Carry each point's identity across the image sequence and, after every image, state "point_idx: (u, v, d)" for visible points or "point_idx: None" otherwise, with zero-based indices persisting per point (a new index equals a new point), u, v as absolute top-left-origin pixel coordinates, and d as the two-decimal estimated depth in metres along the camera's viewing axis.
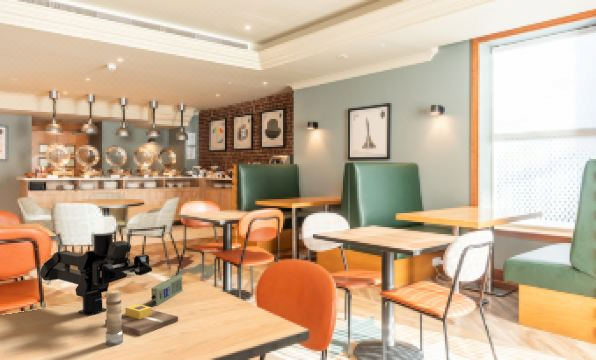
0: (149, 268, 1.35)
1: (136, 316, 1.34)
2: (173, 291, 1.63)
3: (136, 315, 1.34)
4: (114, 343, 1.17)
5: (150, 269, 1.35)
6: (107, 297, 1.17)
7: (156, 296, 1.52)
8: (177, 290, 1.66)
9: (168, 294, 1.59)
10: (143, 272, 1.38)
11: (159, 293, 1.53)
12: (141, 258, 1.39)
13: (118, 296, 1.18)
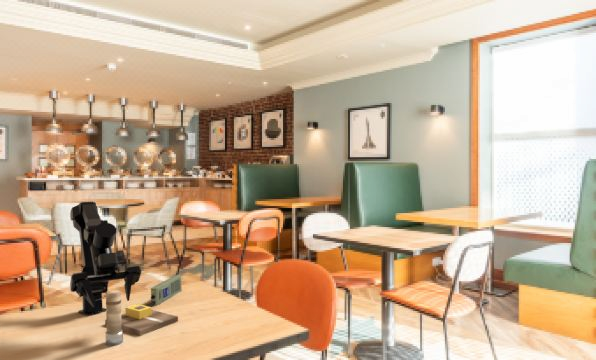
0: (127, 297, 1.24)
1: (136, 316, 1.34)
2: (172, 291, 1.63)
3: (136, 315, 1.34)
4: (114, 343, 1.17)
5: (127, 299, 1.24)
6: (107, 297, 1.17)
7: (156, 296, 1.52)
8: (176, 290, 1.66)
9: (167, 294, 1.59)
10: (125, 290, 1.28)
11: (158, 293, 1.53)
12: (129, 276, 1.27)
13: (118, 296, 1.18)
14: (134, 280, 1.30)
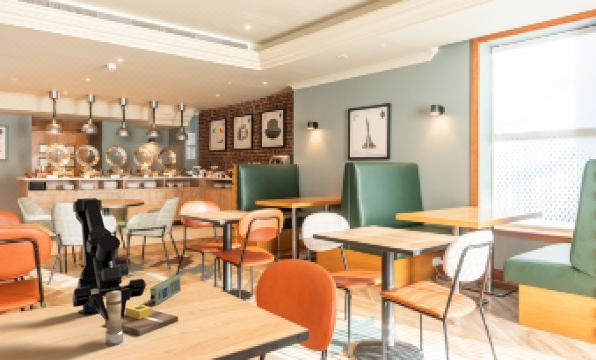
0: (121, 314, 1.19)
1: (136, 316, 1.34)
2: (172, 291, 1.63)
3: (136, 315, 1.34)
4: (114, 343, 1.17)
5: (122, 316, 1.19)
6: (107, 297, 1.17)
7: (155, 296, 1.52)
8: (175, 290, 1.66)
9: (167, 294, 1.59)
10: None
11: (158, 293, 1.53)
12: (124, 291, 1.22)
13: (118, 296, 1.18)
14: (129, 295, 1.25)
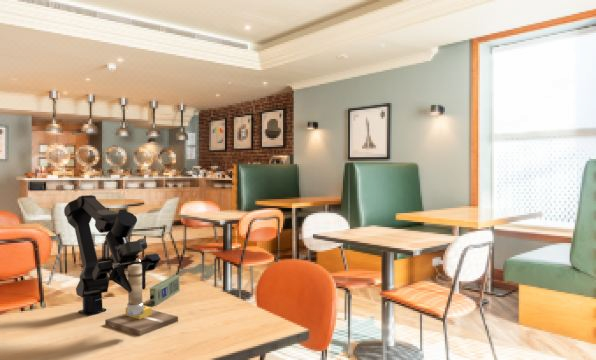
0: (143, 285, 1.25)
1: (136, 316, 1.34)
2: (171, 291, 1.63)
3: None
4: (137, 313, 1.23)
5: (143, 287, 1.25)
6: (130, 270, 1.22)
7: (154, 296, 1.52)
8: (174, 290, 1.66)
9: (166, 294, 1.59)
10: None
11: (157, 293, 1.53)
12: (142, 265, 1.27)
13: (140, 268, 1.24)
14: (145, 269, 1.30)
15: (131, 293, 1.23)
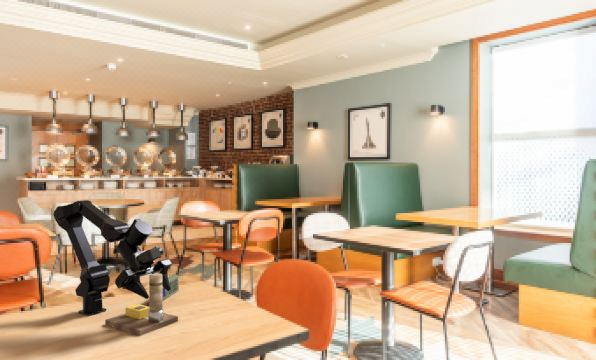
0: (168, 288, 1.36)
1: (136, 316, 1.34)
2: (170, 291, 1.63)
3: (136, 315, 1.34)
4: (160, 319, 1.31)
5: (168, 289, 1.35)
6: (153, 279, 1.30)
7: None
8: (174, 290, 1.66)
9: (165, 294, 1.59)
10: None
11: None
12: (165, 269, 1.37)
13: (161, 277, 1.32)
14: None
15: (154, 301, 1.30)
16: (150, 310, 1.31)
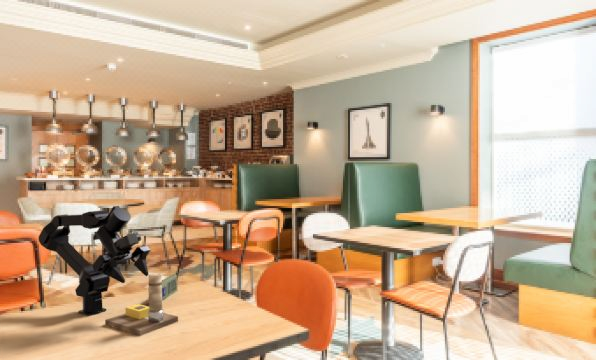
0: (146, 273, 1.40)
1: (136, 316, 1.34)
2: (169, 291, 1.63)
3: (136, 315, 1.34)
4: (160, 319, 1.31)
5: (146, 274, 1.40)
6: (152, 279, 1.30)
7: None
8: (172, 290, 1.66)
9: (164, 294, 1.59)
10: (138, 267, 1.42)
11: None
12: (143, 254, 1.42)
13: (161, 277, 1.32)
14: None
15: (153, 301, 1.30)
16: (150, 310, 1.31)
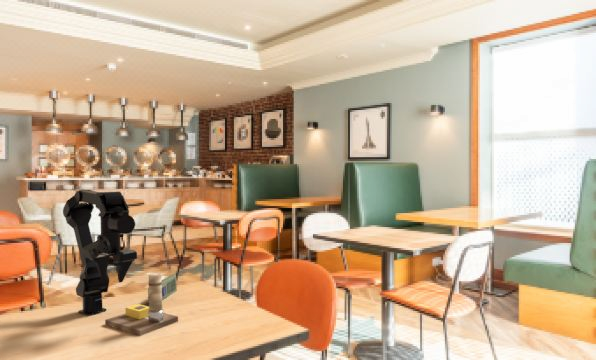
0: None
1: (136, 316, 1.34)
2: (168, 291, 1.63)
3: (136, 315, 1.34)
4: (160, 319, 1.31)
5: None
6: (152, 279, 1.30)
7: None
8: (172, 290, 1.66)
9: (164, 294, 1.59)
10: None
11: None
12: (114, 263, 1.31)
13: (161, 277, 1.32)
14: None
15: (153, 301, 1.30)
16: (150, 310, 1.31)
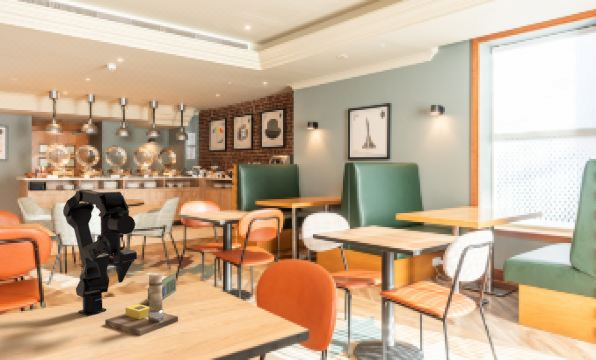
0: None
1: (136, 316, 1.34)
2: (168, 291, 1.63)
3: (136, 315, 1.34)
4: (160, 319, 1.31)
5: None
6: (153, 279, 1.30)
7: None
8: (171, 290, 1.66)
9: (163, 294, 1.59)
10: None
11: None
12: (114, 264, 1.31)
13: (161, 277, 1.32)
14: None
15: (154, 301, 1.30)
16: (150, 310, 1.31)
